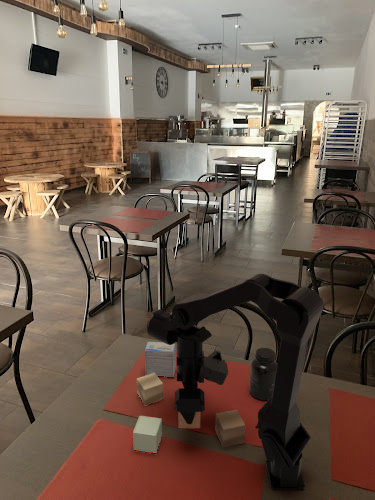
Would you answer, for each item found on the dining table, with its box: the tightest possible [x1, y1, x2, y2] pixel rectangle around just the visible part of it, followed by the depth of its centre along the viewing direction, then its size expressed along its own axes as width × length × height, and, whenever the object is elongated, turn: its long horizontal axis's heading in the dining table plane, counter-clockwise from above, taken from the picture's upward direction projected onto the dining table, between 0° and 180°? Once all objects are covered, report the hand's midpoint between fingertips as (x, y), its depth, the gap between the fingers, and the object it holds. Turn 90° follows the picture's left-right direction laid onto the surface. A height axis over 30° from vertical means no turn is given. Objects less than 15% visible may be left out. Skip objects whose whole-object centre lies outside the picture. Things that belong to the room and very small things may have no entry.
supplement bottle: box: [249, 347, 278, 401], centre depth 100 cm, size 7×7×12 cm
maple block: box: [136, 373, 164, 406], centre depth 99 cm, size 5×5×5 cm
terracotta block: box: [177, 412, 201, 429], centre depth 92 cm, size 5×5×5 cm
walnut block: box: [214, 409, 246, 449], centre depth 87 cm, size 5×5×5 cm
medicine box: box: [144, 341, 177, 378], centre depth 108 cm, size 8×4×9 cm, turn 84°
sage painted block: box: [132, 415, 163, 453], centre depth 85 cm, size 5×5×5 cm
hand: (189, 409), depth 91 cm, fingers open, 9 cm apart
